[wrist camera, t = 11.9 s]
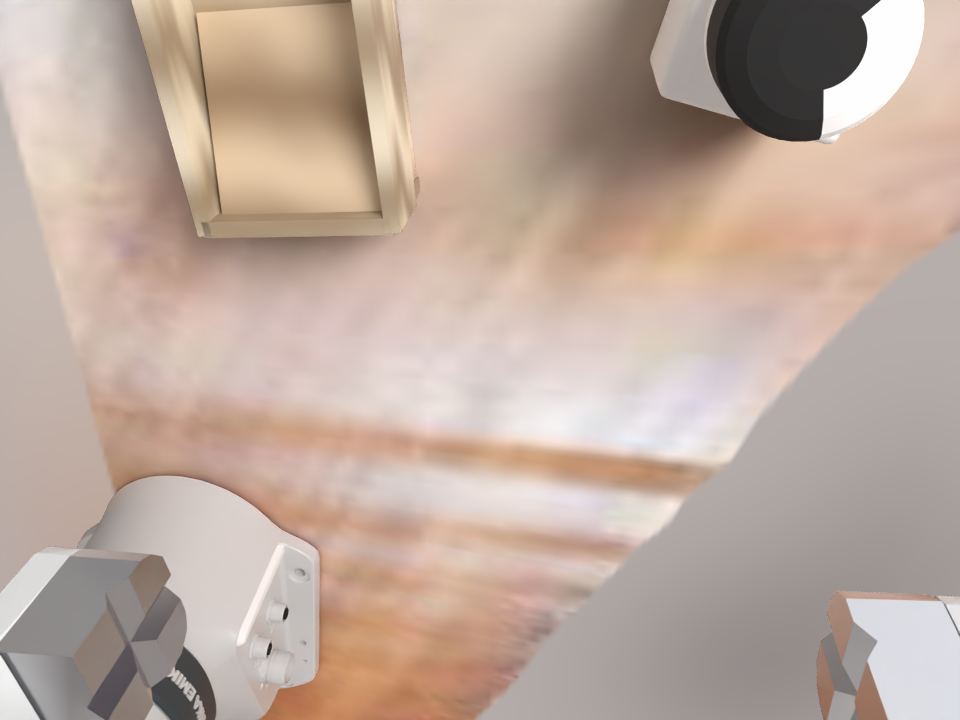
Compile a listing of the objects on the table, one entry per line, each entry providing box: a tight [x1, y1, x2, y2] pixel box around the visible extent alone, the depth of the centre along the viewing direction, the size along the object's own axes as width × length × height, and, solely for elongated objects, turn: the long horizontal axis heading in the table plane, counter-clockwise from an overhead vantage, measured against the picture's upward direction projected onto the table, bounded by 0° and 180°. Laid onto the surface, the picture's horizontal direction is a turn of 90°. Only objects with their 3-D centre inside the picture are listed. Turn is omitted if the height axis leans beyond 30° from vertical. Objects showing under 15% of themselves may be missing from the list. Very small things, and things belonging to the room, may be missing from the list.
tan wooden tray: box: [131, 0, 420, 238], centre depth 33 cm, size 16×10×6 cm, turn 4°
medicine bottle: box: [650, 0, 924, 144], centre depth 28 cm, size 7×7×12 cm
